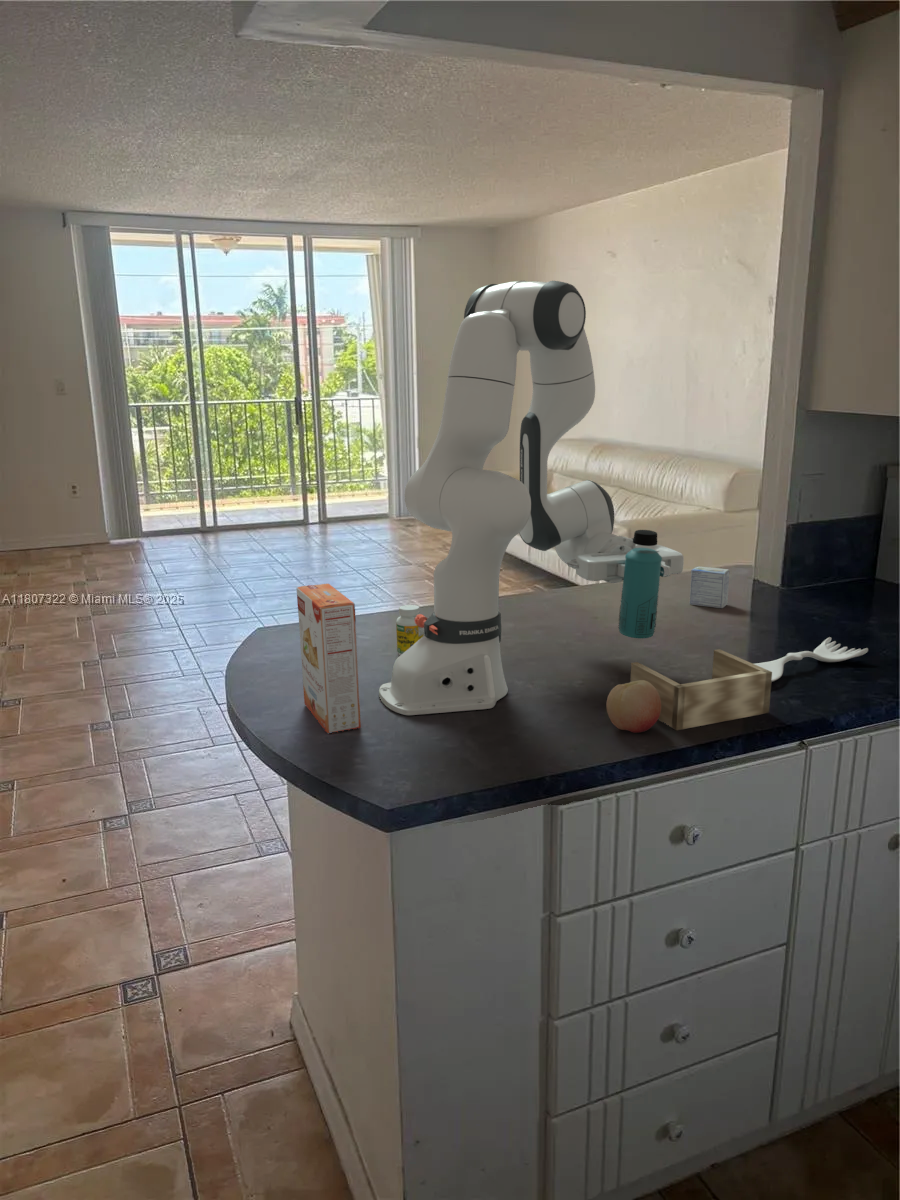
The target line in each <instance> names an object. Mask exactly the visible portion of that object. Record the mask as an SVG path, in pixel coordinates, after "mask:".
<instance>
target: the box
mask: <svg viewBox="0 0 900 1200" xmlns="http://www.w3.org/2000/svg"><path fill="white" fill-rule="evenodd" d="M712 658H713V659H712V673H711V679H706V680H700V681H692V682H687V683H681V684H680V683H678V681H677V682H676V681H675V680H672V679H671V678H669V677H667V676H665V675H663V674H661V673H660V672H657V671H656V670H654V669H652V668H650V667H648V666H646V665H644V664H642V663H640V662H638V661H637V662H635V661H634V662H631V663H630V665H631V667H630V682H634V681H639V680H644V681H647V682H649V683H650V684H652V685H653V686H654V687H655V689H656V690H657V692H658V694H659V696H660V699H661V712H660V716H659V718H658V719H659V720H658V721H659V722H661V723H663V722H664V724H665V723H666V724H665V725H667V726H668V725H669V726H668V727H670V728H672V729H674V730H675V731H682V730H686V729H690V728H696V727H700V726H701V727H702V726H706V725H712V724H718V723H722V722H728V721H733V720H738V719H743V718H748V717H754V716H759V715H764V714H769V713H770V703H771V690H772V682H771V680H772V672H771V671H769V670H766V669H764V668H762V667H759V666H757V665H755V664H756V663H752V662H750V661H748V660H745V659H743V658H741V657H739V656H736V655H734V654H732V653H729V652H727V651H724V650H722V649H714V650H713V657H712Z"/></svg>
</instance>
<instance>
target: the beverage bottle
mask: <svg viewBox="0 0 900 1200" xmlns="http://www.w3.org/2000/svg"><path fill="white" fill-rule="evenodd" d="M632 538H633V543H635V544H637V545H643V546H654V545H658V532H656V531H654V530H650V529H637V530H635V531H634V534H633V537H632ZM625 558H626V559H625V569H624V580H623V581H622V590H621V593H620V594H621V596H620V597H621V598H620V606H619V614H618V617H619V619H618V623H617V624H618V626H617V627H618V630H619V631H618V632H619V633H620V634H621V635H623V636H625V637H628V638H632V639H649V638H651V637H654V634H655V630H656V625H657V615H658V608H659V607H658V605H659V598H660V597H659V591H660V579H661V576H660V569H661V561H662V557H661V556H660V555H659V553H658V552H657V551H655V550H653V549H649V548H634V549H632V550H631V551H629V552H628V553H627V554H626V556H625Z"/></svg>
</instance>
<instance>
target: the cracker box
mask: <svg viewBox="0 0 900 1200" xmlns="http://www.w3.org/2000/svg"><path fill="white" fill-rule="evenodd" d="M296 601H297V613H298V627H299V641H300V642H299V643H300V655H301V656H300V658H301V671H302V673H301V674H302V683H303V684H302V686H303V689H302V690H303V699H304V702H303V703H304V705H305V706H306V708H307V709H308V710H309V712H310V711H311V712H310V713H311V714H312V716H313V717H314V718H315V719H316V721H317V720H318V721H317V722H318V724H319V725H320V726H321V727H322V729H323V728H324V729H325V730H324V729H323V730H324V732H325V733H326V732H327V733H330V732H337V733H339V732H338V731H342V732H345V731H344V730H348V731H351V730H350V729H353V730H358V729H362V723H361V722H362V721H361V708H360V707H361V706H360V687H359V686H360V685H359V662H358V645H357V644H358V643H357V641H358V640H357V624H356V623H357V620H356V604H355V602H354V601H352V600H351V599H350V598H348V597H347V596H346V595H344V594H343V593H342V592H341V591H339V590H338V589H336V588H335V587H334V586H332V584H330V583H320V584H309V585H302V586H298V587H296ZM357 728H358V729H357ZM327 733H326V734H327Z"/></svg>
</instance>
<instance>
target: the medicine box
mask: <svg viewBox="0 0 900 1200" xmlns="http://www.w3.org/2000/svg"><path fill="white" fill-rule="evenodd" d="M690 572H691V573H690V587H689V588H690V591H689V605H690V604H691V605H692V606H700V607H708V608H716V609H724V608H725V607H726V606H727V605H728V602H729V601H728V598H729V584H730V583H729V582H730V569H727V568H719V567H709V566H708V567H707V566H696V567H694V568H692V569H691V571H690Z"/></svg>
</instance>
